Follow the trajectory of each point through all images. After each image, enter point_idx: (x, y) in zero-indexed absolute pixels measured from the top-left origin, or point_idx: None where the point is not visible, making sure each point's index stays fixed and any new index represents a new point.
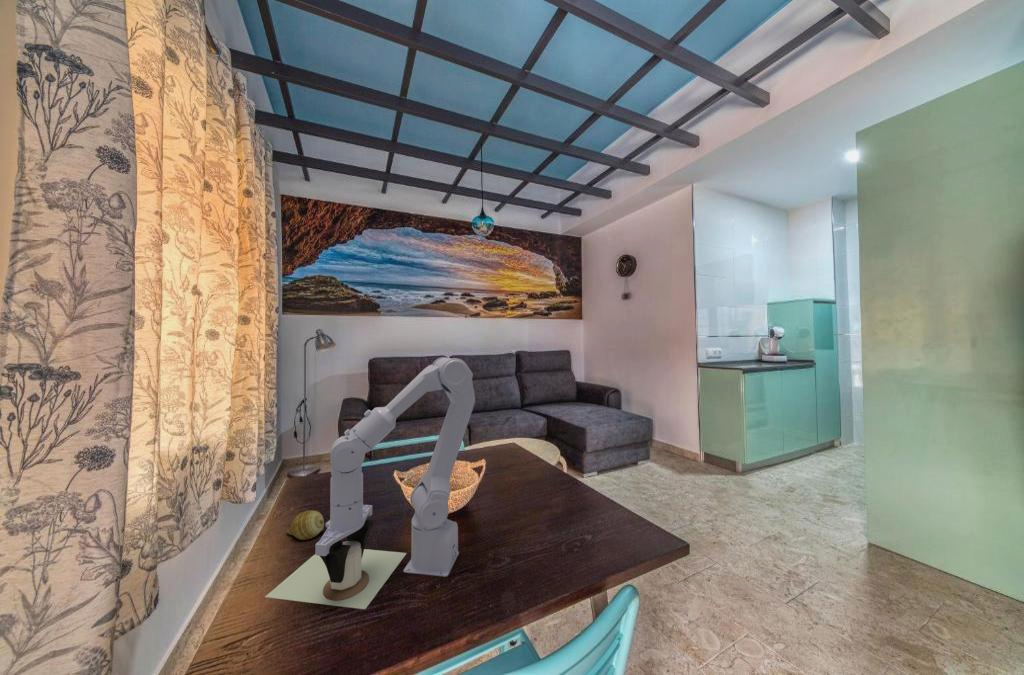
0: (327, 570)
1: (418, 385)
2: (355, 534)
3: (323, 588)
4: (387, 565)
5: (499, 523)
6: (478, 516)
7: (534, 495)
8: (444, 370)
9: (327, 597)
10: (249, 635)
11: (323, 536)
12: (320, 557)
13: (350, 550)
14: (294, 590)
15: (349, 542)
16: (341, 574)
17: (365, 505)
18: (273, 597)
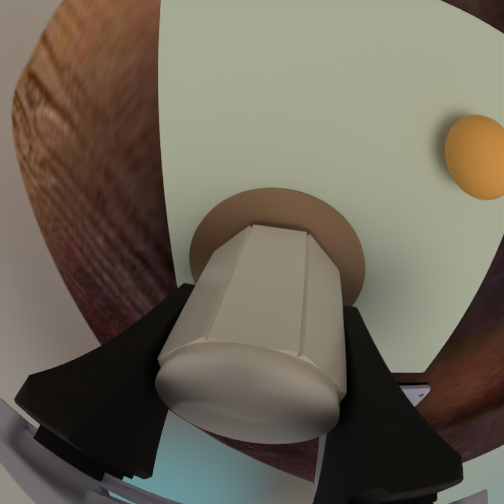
0: (145, 315)
1: None
2: (339, 461)
3: (231, 199)
4: None
5: (451, 437)
6: (491, 414)
7: (494, 438)
8: None
9: (191, 243)
10: (52, 97)
11: (15, 478)
12: (469, 55)
13: (229, 426)
14: (214, 60)
15: (316, 416)
16: None
17: None
18: (162, 13)
